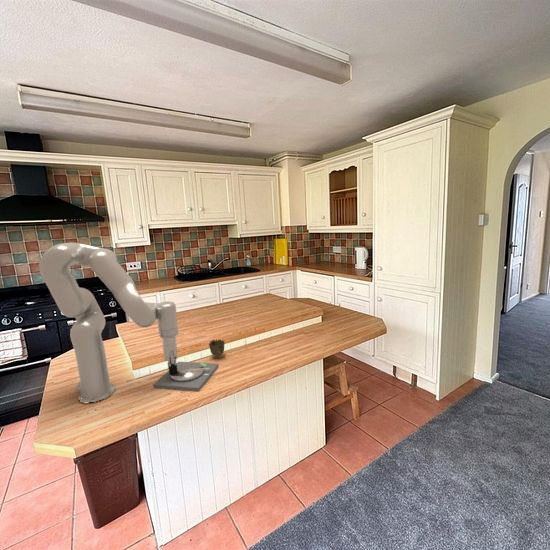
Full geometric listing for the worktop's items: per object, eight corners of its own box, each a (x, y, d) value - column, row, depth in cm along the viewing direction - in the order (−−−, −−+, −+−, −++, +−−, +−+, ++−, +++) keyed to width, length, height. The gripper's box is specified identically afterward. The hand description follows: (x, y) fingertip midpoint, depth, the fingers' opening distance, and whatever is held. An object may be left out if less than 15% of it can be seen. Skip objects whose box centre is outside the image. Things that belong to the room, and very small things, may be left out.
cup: (222, 361, 139) (220, 345, 138) (207, 360, 141) (206, 344, 139) (227, 354, 146) (226, 339, 145) (214, 353, 148) (212, 338, 146)
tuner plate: (153, 388, 119) (152, 384, 119) (178, 364, 138) (178, 361, 138) (198, 391, 115) (198, 387, 114) (218, 366, 134) (218, 363, 134)
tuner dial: (166, 383, 119) (164, 367, 117) (174, 366, 132) (173, 352, 131) (208, 379, 120) (206, 363, 119) (211, 363, 134) (210, 348, 133)
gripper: (158, 327, 128) (162, 366, 131) (160, 339, 113) (165, 383, 116) (176, 324, 131) (180, 362, 134) (180, 336, 116) (184, 379, 119)
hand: (173, 371), depth 125 cm, fingers closed on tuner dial, 2 cm apart
